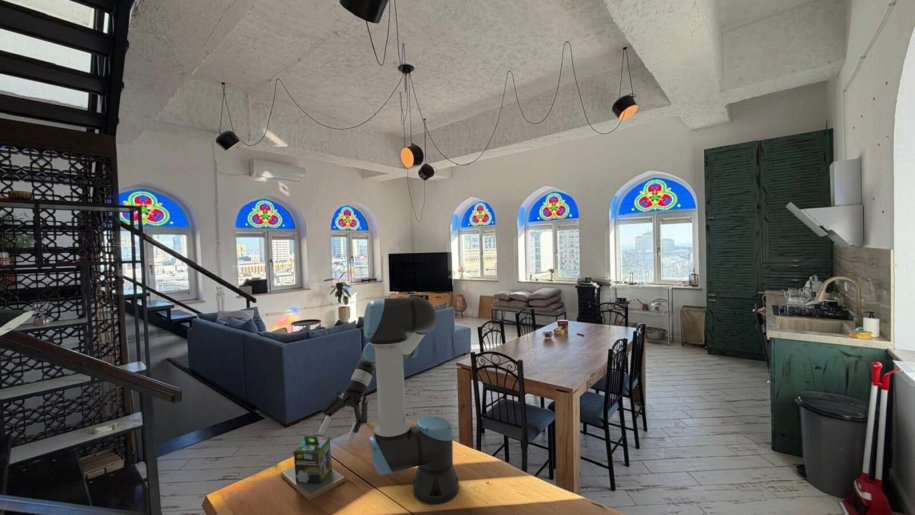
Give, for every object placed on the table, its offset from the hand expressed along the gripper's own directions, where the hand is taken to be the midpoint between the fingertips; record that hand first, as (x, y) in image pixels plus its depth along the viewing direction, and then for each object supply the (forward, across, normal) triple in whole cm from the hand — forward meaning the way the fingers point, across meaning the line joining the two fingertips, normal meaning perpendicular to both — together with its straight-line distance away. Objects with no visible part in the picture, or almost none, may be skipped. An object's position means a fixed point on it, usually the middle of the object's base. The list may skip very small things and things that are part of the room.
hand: (334, 437), depth 144 cm
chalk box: (+13, 0, +1) cm, 13 cm away
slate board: (+14, +1, 0) cm, 14 cm away
